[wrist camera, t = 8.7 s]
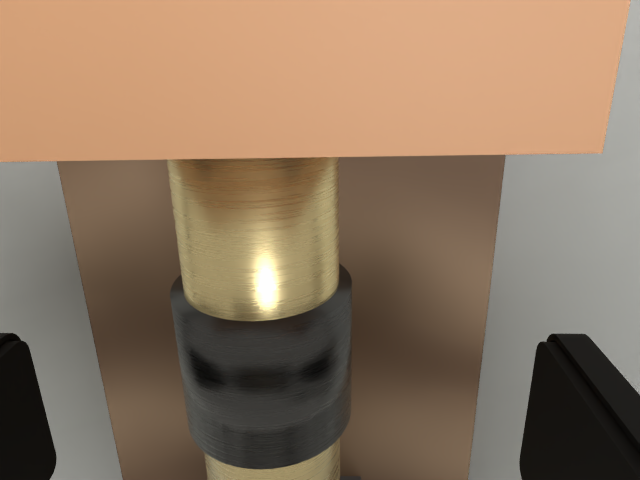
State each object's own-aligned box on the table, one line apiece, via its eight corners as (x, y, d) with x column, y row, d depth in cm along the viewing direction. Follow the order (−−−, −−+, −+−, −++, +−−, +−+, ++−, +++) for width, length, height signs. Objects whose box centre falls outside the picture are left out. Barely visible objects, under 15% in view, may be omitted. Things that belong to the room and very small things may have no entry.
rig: (444, 574, 22) (509, 872, 14) (161, 574, 22) (70, 867, 14) (512, -90, 13) (793, -285, 5) (38, -79, 13) (-382, -249, 5)
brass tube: (347, 569, 15) (352, 710, 12) (232, 568, 16) (206, 709, 12) (349, -55, 9) (360, -106, 6) (160, -51, 9) (72, -99, 6)
